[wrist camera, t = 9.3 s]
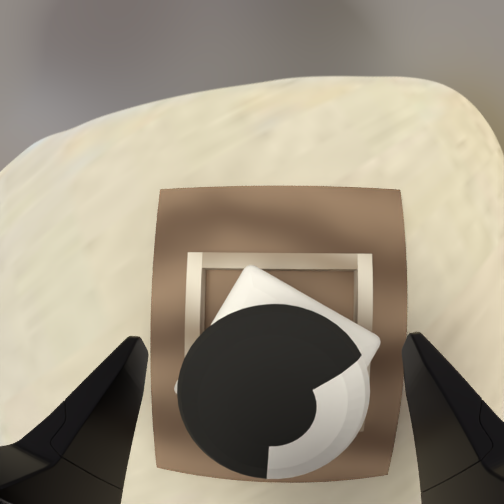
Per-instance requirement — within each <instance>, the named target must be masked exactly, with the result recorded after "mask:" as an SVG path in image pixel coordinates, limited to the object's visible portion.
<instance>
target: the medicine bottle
mask: <svg viewBox="0 0 504 504" xmlns="http://www.w3.org/2000/svg"><path fill="white" fill-rule="evenodd" d="M380 343H381V342H380V338H379V337H378V336H377V335H376V334H374V333H372V332H370V331H369V330H367V329H365V328H363V327H362V326H360V325H358V324H356V323H354V322H353V321H351V320H349V319H347V318H346V317H344V316H342V315H340V314H339V313H337V312H335V311H333V310H332V309H330V308H328V307H326V306H325V305H323V304H321V303H319V302H318V301H316V300H314V299H312V298H311V297H309V296H307V295H305V294H304V293H302V292H300V291H298V290H297V289H295V288H293V287H291V286H290V285H288V284H286V283H284V282H283V281H281V280H279V279H277V278H276V277H274V276H272V275H271V274H269V273H267V272H265V271H264V270H262V269H260V268H258V267H257V266H254V265H248V266H246V267H245V268H244V270H243V271H242V273H241V275H240V276H239V278H238V280H237V281H236V283H235V285H234V286H233V288H232V290H231V291H230V293H229V295H228V297H227V298H226V300H225V302H224V303H223V305H222V307H221V308H220V310H219V312H218V313H217V315H216V317H215V318H214V320H213V322H212V323H211V325H210V326H209V327H208V328H207V329H206V330H205V331H204V332H203V333H202V334H201V335H200V336H199V337H198V338H197V339H196V340H195V342H194V343H193V344H192V346H191V347H190V349H189V351H188V352H187V354H186V356H185V358H184V360H183V363H182V366H181V369H180V372H179V377H178V381H177V382H176V384H175V387H174V390H175V393H176V394H177V399H178V407H179V411H180V415H181V418H182V421H183V423H184V425H185V428H186V430H187V431H188V433H189V435H190V436H191V438H192V439H193V441H194V442H195V443H196V444H197V446H198V447H199V448H200V449H201V450H202V451H203V452H204V453H205V454H206V455H207V456H209V457H210V458H211V459H213V460H214V461H215V462H217V463H218V464H220V465H222V466H223V467H225V468H227V469H229V470H231V471H234V472H237V473H239V474H242V475H246V476H250V477H254V478H262V479H283V478H291V477H296V476H300V475H304V474H307V473H309V472H312V471H314V470H317V469H319V468H320V467H322V466H324V465H326V464H328V463H329V462H331V461H332V460H333V459H335V458H336V457H337V456H339V455H340V454H341V453H342V452H343V451H344V450H345V449H346V448H347V447H348V446H349V445H350V443H351V442H352V441H353V440H354V438H355V437H356V435H357V434H358V432H359V430H360V428H361V427H362V424H363V422H364V419H365V417H366V414H367V410H368V406H369V399H370V381H369V375H368V371H367V367H368V365H369V363H370V362H371V360H372V358H373V357H374V355H375V353H376V351H377V350H378V348H379V346H380Z"/></svg>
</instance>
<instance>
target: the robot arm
mask: <svg viewBox="0 0 504 504" xmlns="http://www.w3.org/2000/svg"><path fill="white" fill-rule="evenodd" d="M402 361H403V370H404V379H405V389H406V396H407V401H408V406H409V412H410V417H411V423H412V428H413V434H414V441H415V447H416V454H417V461H418V469H419V478H420V488H421V492H422V493H421V501H422V504H504V422H503V421H502V420H501V419H500V418H499V417H498V416H497V415H496V414H495V413H494V412H493V411H492V410H491V408H490V407H489V406H488V405H487V404H486V403H485V402H484V400H482V398H481V397H480V396H479V395H478V394H477V393H476V391H475V390H474V389H473V388H472V387H471V386H470V385H469V384H468V382H467V381H466V380H465V379H464V378H463V377H462V376H461V375H460V374H459V372H458V371H457V370H456V369H455V368H454V367H453V366H452V365H451V364H450V363H449V362H448V361H447V360H446V358H445V357H444V356H443V355H442V354H441V353H440V352H439V351H438V350H437V349H436V348H435V347H434V346H433V345H432V344H431V343H430V342H429V341H428V340H427V338H426V337H425V336H424V335H423V334H422V333H420V332H415V333H409V334H408V336H407V338H406V340H405V343H404V345H403V347H402ZM147 362H148V351H147V348H146V347H145V345H144V343H143V341H142V339H141V338H140V337H138V336H129V337H127V338H126V339H125V340H124V341H123V342H122V343H121V344H120V345H119V346H118V347H117V348H116V349H115V350H114V351H113V352H112V353H111V354H110V355H109V356H108V357H107V358H106V359H105V360H104V361H103V362H102V363H101V364H100V365H99V366H98V367H97V368H96V369H95V370H94V371H93V372H92V373H91V374H90V375H89V376H88V377H87V378H86V379H85V380H84V381H83V382H82V383H81V384H80V385H79V386H78V387H77V388H76V389H75V390H74V391H73V392H72V393H71V394H70V395H69V396H68V397H67V398H66V399H65V401H63V402H62V403H61V404H60V405H59V406H58V407H57V408H56V409H55V410H54V411H53V412H52V413H51V414H50V415H49V416H48V417H47V418H45V419H44V420H43V421H42V422H41V423H40V424H39V425H37V426H36V427H35V428H34V429H33V430H31V431H30V432H29V433H28V434H27V435H25V436H24V437H23V438H22V439H20V440H19V441H17V442H15V443H13V444H10V445H6V446H0V504H121V498H122V493H123V486H124V481H125V475H126V470H127V465H128V460H129V455H130V450H131V445H132V441H133V436H134V431H135V427H136V423H137V418H138V414H139V410H140V405H141V401H142V397H143V391H144V384H145V377H146V369H147Z"/></svg>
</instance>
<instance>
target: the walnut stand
mask: <svg viewBox="0 0 504 504" xmlns="http://www.w3.org/2000/svg"><path fill="white" fill-rule="evenodd" d="M248 265H254V266H257V267H258V268H260V269H262V270H264V271H265V272H267V273H269V274H271V275H272V276H274V277H276V278H277V279H279V280H281V281H283V282H284V283H286V284H288V285H290V286H291V287H293V288H295V289H297V290H298V291H300V292H302V293H304V294H305V295H307V296H309V297H311V298H312V299H314V300H316V301H318V302H319V303H321V304H323V305H325V306H326V307H328V308H330V309H332V310H333V311H335V312H337V313H339V314H340V315H342V316H344V317H346V318H347V319H349V320H351V321H353V322H354V323H356V324H358V325H360V326H362V327H363V328H365V329H367V330H369V331H370V332H372V333H374V334H376V335H377V336H378V337H379V338H380V342H381V343H380V346H379V348H378V350H377V351H376V353H375V355H374V357H373V358H372V360H371V362H370V363H369V365H368V367H367V371H368V375H369V381H370V399H369V406H368V410H367V414H366V417H365V419H364V422H363V424H362V427H361V428H360V430H359V432H358V434H357V435H356V437H355V438H354V440H353V441H352V442H351V443H350V445H349V446H348V447H347V448H346V449H345V450H344V451H343V452H342V453H341V454H340V455H339V456H337V457H336V458H335V459H333V460H332V461H331V462H329V463H328V464H326V465H324V466H322V467H320V468H319V469H317V470H314V471H312V472H309V473H307V474H304V475H300V476H296V477H291V478H283V479H262V478H254V477H250V476H246V475H242V474H239V473H237V472H234V471H231V470H229V469H227V468H225V467H223V466H222V465H220V464H218V463H217V462H215V461H214V460H213V459H211V458H210V457H209V456H207V455H206V454H205V453H204V452H203V451H202V450H201V449H200V448H199V447H198V446H197V444H196V443H195V442H194V441H193V439H192V438H191V436H190V435H189V433H188V431H187V430H186V428H185V425H184V423H183V421H182V418H181V415H180V411H179V407H178V399H177V394H176V393H175V390H174V387H175V384H176V382H177V381H178V377H179V372H180V369H181V366H182V363H183V360H184V358H185V356H186V354H187V352H188V351H189V349H190V347H191V346H192V344H193V343H194V342H195V340H196V339H197V338H198V337H199V336H200V335H201V334H202V333H203V332H204V331H205V330H206V329H207V328H208V327H209V326H210V325H211V323H212V322H213V320H214V318H215V317H216V315H217V313H218V312H219V310H220V308H221V307H222V305H223V303H224V302H225V300H226V298H227V297H228V295H229V293H230V291H231V290H232V288H233V286H234V285H235V283H236V281H237V280H238V278H239V276H240V275H241V273H242V271H243V270H244V268H245V267H246V266H248ZM406 333H407V265H406V245H405V231H404V219H403V209H402V200H401V192H400V190H396V189H379V188H358V187H330V186H226V187H197V188H176V189H160V195H159V204H158V213H157V223H156V234H155V246H154V260H153V276H152V297H151V396H152V416H153V431H154V444H155V455H156V465H157V468H162V469H167V470H171V471H176V472H182V473H187V474H193V475H200V476H206V477H214V478H222V479H231V480H242V481H257V482H290V483H294V482H326V481H340V480H351V479H361V478H369V477H376V476H382V475H388V471H389V466H390V462H391V457H392V452H393V447H394V442H395V436H396V430H397V424H398V418H399V411H400V404H401V396H402V387H403V377H404V370H403V361H402V347H403V345H404V343H405V340H406Z"/></svg>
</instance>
